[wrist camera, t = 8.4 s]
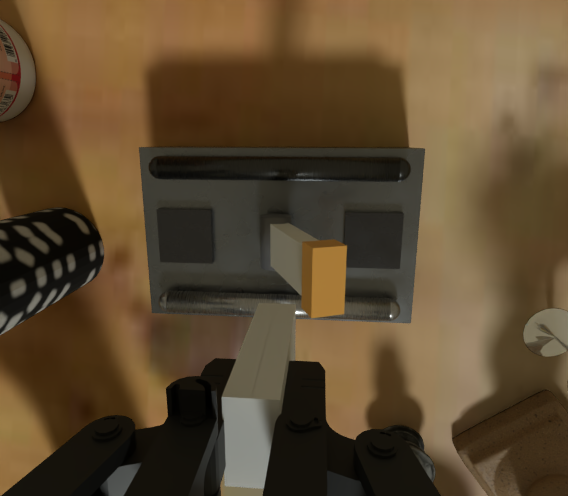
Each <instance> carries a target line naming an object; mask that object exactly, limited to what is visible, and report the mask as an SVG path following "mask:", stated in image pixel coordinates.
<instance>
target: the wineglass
mask: <svg viewBox="0 0 568 496" xmlns="http://www.w3.org/2000/svg"><path fill="white" fill-rule="evenodd" d="M523 336H524V341H525V344H526V346H527V347H528V348H529V349H530V350H531V351H532V352H534V353H536V354H538V355H540V356H547V357H549V356H557V355H559V354H562V353H564V352H566V351H568V312H567V311H565V310H563V309H556V308H552V309H545V310H543V311H540V312H538V313H536V314H535V315H534V316H532V317H531V318H530V319H529V321H528V322H527V324H526V325H525V328H524V332H523ZM567 389H568V380H567Z"/></svg>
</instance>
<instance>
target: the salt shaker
mask: <svg viewBox="0 0 568 496" xmlns="http://www.w3.org/2000/svg"><path fill="white" fill-rule="evenodd" d="M383 430H386V431H390V432H393V433H395V434H397V435H398V436H400V437H402V438H403V439H404V440H405V441H406V442H407V443H408V444H409V446H410V448H411V449H412V451H413V452H414V454H415V455H416V457H417V459H418V460H419V462H420V463H421V465H422V467H423V468H424V470H425V471H426V473H427V475H428V476H429V478H430V479H431V481H432V482H433V481H434V478H435V467H434V464H433V462H432V460H431V459H430V457H429V456H428V455H427V454H426V453H425V452H424V444H423V440H422V438H421V437H420V435H419V434H418V433H417V432H416V431H415V430H413V429H411V428H409V427H406V426H397V425H395V426H390V427H387V428H385V429H383Z"/></svg>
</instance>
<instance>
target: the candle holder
mask: <svg viewBox="0 0 568 496" xmlns="http://www.w3.org/2000/svg"><path fill="white" fill-rule="evenodd" d="M452 441H453V444H454V446H455V448H456V450H457V453H458V454H459V456H460V458H461V459H462V461H463V462H464V464H465V465H466V467H467V468H468V469H469V471H470V472H471V473H472V475H473V476H474V477H475V479H476V480H477V481H478V483H479V484H480V485H481V487H482V488H483V489H484V491H485V492H486V493H487V495H488V496H568V413H567V411H566V410H565V409H564V407H563V406H562V405H561V404H560V402H559V401H558V400H557V399H556V398H555V396H554V395H553V394H552V393H551V392H550V391H548V390H544V391H542V392H540V393H537V394H535V395H533V396H531V397H529V398H527V399H525V400H523V401H521V402H519V403H518V404H516V405H514V406H512V407H510V408H508V409H506V410H504V411H502V412H500V413H499V414H497V415H495V416H493V417H491V418H489V419H487V420H485V421H483V422H481V423H480V424H478V425H476V426H474V427H472V428H470V429H468V430H466V431H465V432H463V433H461V434H460V435H458V436H456V437H455V438H454V439H453V440H452Z"/></svg>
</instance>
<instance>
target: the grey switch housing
mask: <svg viewBox="0 0 568 496" xmlns="http://www.w3.org/2000/svg"><path fill="white" fill-rule="evenodd" d="M139 153H140V166H141V179H142V191H143V204H144V217H145V229H146V242H147V255H148V267H149V280H150V293H151V305H152V313H167V314H192V315H217V316H242V317H253V316H254V314H255V311H256V309H257V306H258V304H259V303H274V304H296V319H316V320H341V321H366V322H391V323H411V314H412V302H413V289H414V277H415V265H416V253H417V241H418V228H419V216H420V204H421V192H422V180H423V168H424V155H425V149H423V148H400V147H139ZM270 213H282V214H289V215H291V225H293V226H295V227H297V228H298V229H300V230H302V231H304V232H305V233H307V234H309V235H311V236H312V237H314V238H316V239H318V240H333V239H335V240H337V241H339V242H341V243H343V244H345V245H347V256H346V281H345V306H344V314H341V315H333V316H326V317H318V318H310V316H309V315H308V314H307V313H306V312H305V311H304V310H303V309H302V308H301V299H302V296H301V295H300V294H299V293H298V292H297V291H296V290H295V289H294V288H293V287H292V286H291V285H290V284H289V283H288V282H287V281H286V280H285V279H284V278H283V277H282V276H281V275H280V274H279V273H278V272H277V271H269V270H264V269H262V268H261V267H260V215H263V214H270Z"/></svg>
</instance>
